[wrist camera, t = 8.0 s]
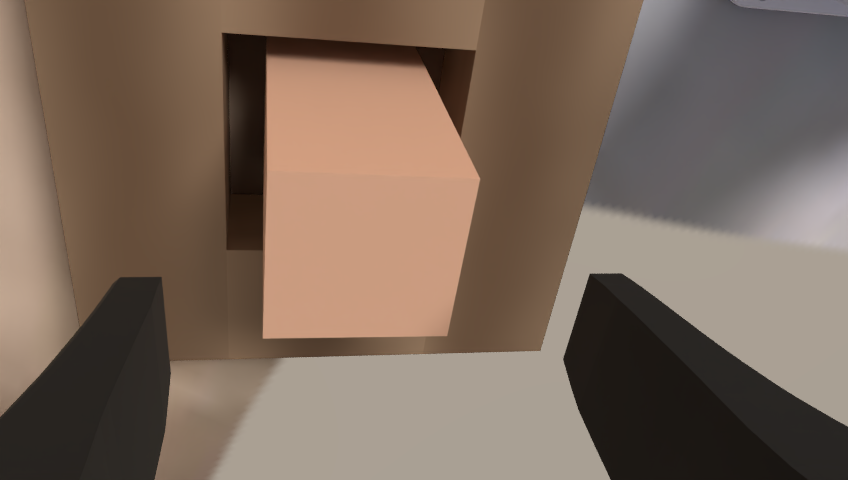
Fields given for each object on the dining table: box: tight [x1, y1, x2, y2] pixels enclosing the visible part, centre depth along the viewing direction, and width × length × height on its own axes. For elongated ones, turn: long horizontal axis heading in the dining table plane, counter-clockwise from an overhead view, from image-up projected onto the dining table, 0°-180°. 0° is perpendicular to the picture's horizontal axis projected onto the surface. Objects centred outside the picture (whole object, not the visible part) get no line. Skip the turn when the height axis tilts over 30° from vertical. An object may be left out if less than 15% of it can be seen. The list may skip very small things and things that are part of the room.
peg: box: [263, 36, 480, 339], centre depth 18 cm, size 4×4×8 cm
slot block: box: [24, 0, 643, 361], centre depth 20 cm, size 14×14×3 cm
